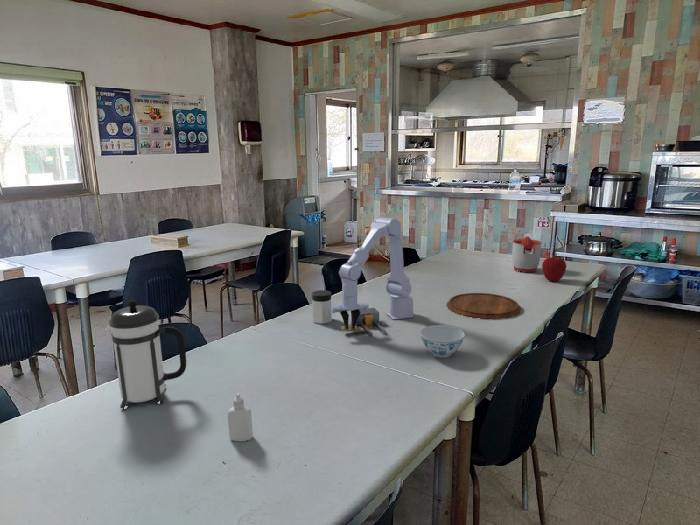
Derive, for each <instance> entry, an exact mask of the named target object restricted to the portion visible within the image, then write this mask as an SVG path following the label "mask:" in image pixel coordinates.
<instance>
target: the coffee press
mask: <svg viewBox="0 0 700 525" xmlns="http://www.w3.org/2000/svg"><path fill="white" fill-rule="evenodd" d="M159 318H160V316H159V313H158V312H157V311H156V309H155V308H153V307H151V306H148V305H138V303H137V301H136V300H134V299H132V300H130V301H128V302H127V306H126V307H122V308H120V309H118V310H116V311H115V312H114V313H113V314H111V317H110V319H109V320H108V325H107V326H106V327H105V330H104V331H105V332H108V331H109V332H111V333H110V334H111V341H112V342H113V348H114V354H115V356H114V357H115V363H116V370H117V378H118V379H117V380H118V384H119V392H120V396H121V398H122V402H121V404H120V407H119V408H120V409H121V408H123V409H122V410H124V407H125V405H126V406H129V407H130V405H131V404H133V403H143V402H148V401H151V400H154V401H155V402H156V403H157V402H159V401H160V403H161V404H163V403H164V402H165V399H164V397H163V396H162V394H163V392H164V391H165V388H166V387H167V386H166V383H165V381H170V380H174V379H177V378H179V377H181V376H182V375H184V373H185V371H186V368H187V354H186V353H187V352H186V344H185V343H186V342H185V339H184V335H183V334H182V331H180V330H179V329H178V328H177V327H174V326H164V327H160V325H159ZM160 334H172V335H174V336H175V338H176V339H177V345H178V356H179V363H180V364H179V365H180V366H179V368H178V369H177V370H176V371H174V372H169V373H168V372H167V373H165V371H164V364H163V356H162V346H161V337H160ZM165 386H166V387H165ZM162 402H163V403H162Z"/></svg>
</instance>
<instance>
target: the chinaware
mask: <svg viewBox="0 0 700 525" xmlns="http://www.w3.org/2000/svg"><path fill="white" fill-rule="evenodd" d="M465 336H466V334H465V332H464V331H463V330H462V329H460V328H457V327H455V326H450V325H443V324H441V325H440V324H438V325H437V324H436V325H428V326H425V327H423V328H421V330H420V338H421V341H422V343H423V345H424V347H425V348H426V349H427V350H428V351H429V352H431V354H432V356H434V357H436V358H440V357H441V358H445V357H446V358H450V357H451V356H452V354H453V353H455V352H456V351H458V350H459V348H461V346H462V344H463V342H464V339H465ZM449 356H450V357H449Z"/></svg>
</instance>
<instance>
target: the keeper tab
mask: <svg viewBox="0 0 700 525" xmlns="http://www.w3.org/2000/svg"><path fill="white" fill-rule="evenodd" d="M348 327H349V328H348V329H346V327H345V325H340V329H341V330H342V331H343V332H356V333H363V334H365V333H366V332H365V330H364V329H363V328H362V327H360V326H358V327H356V326H355V329H352V327H351V326H348Z"/></svg>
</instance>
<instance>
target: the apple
mask: <svg viewBox="0 0 700 525" xmlns="http://www.w3.org/2000/svg"><path fill="white" fill-rule="evenodd" d="M541 269H542V270H541V271H542V273H543V277H545V279H546V280H547V281H548V280H549V281H548V282H550V281H556V282H559V281H560V280H561V279H563V276H564V275H565V273H566V270H567V264H566V261H565V260H564V259H563V258H561V257H556V256H553V257H547V258H546V259H544V260H543V262H542V264H541Z"/></svg>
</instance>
